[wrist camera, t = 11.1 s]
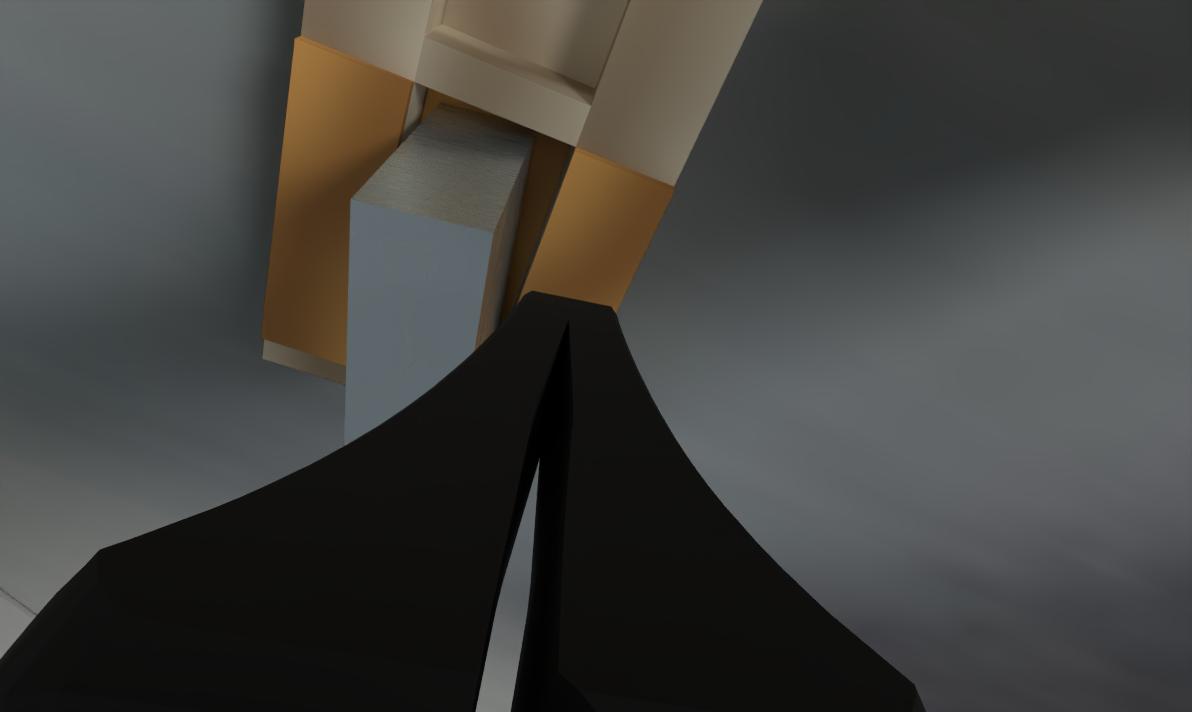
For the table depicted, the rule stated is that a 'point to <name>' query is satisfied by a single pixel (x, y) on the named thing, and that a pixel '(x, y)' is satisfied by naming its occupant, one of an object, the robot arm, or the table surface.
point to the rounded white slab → (12, 621)
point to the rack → (502, 89)
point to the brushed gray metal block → (430, 258)
